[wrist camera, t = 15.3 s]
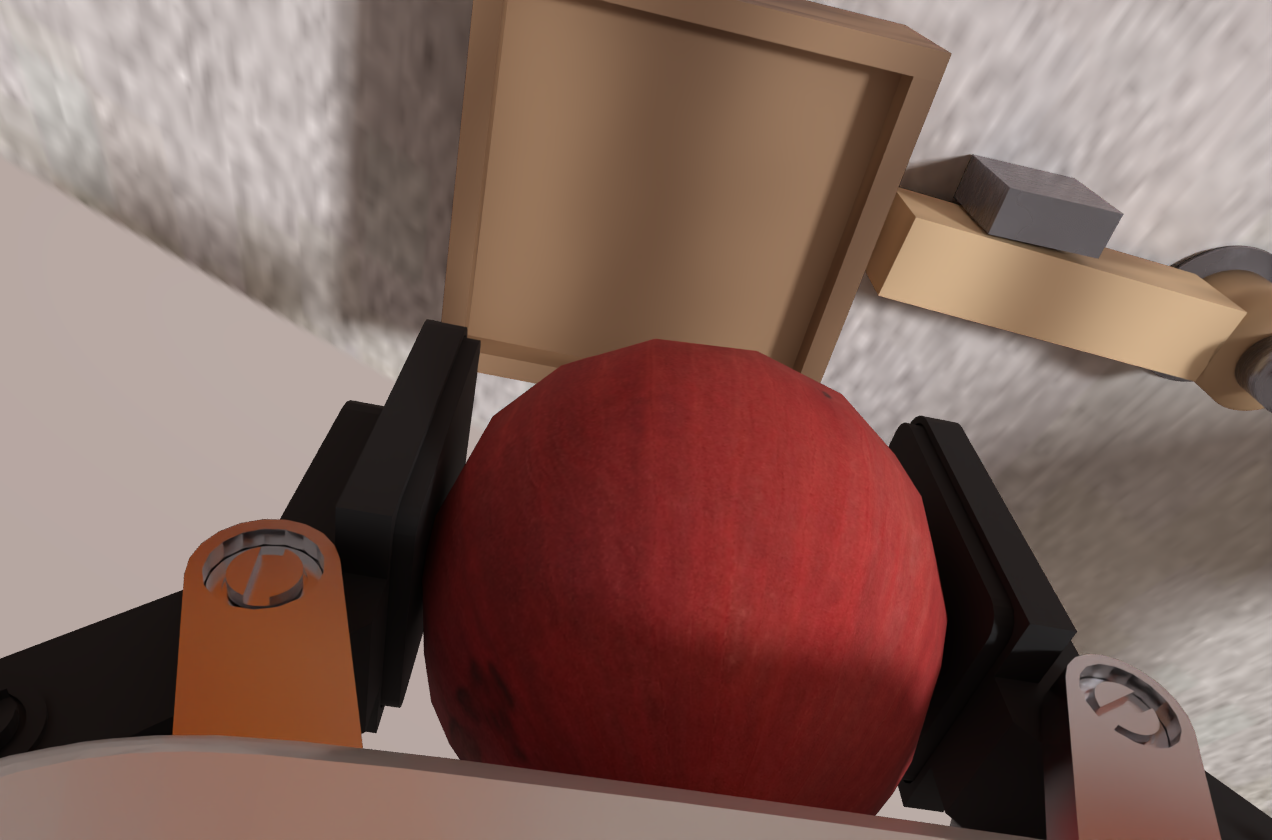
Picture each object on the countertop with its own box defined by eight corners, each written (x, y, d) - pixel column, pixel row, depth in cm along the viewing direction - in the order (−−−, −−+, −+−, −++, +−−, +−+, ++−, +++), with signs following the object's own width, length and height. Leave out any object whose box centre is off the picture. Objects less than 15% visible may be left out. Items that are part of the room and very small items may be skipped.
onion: (649, 605, 15) (653, 1185, 8) (402, 403, 13) (138, 990, 6) (930, 430, 13) (1236, 1025, 6) (696, 149, 11) (786, 627, 4)
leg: (1299, 285, 24) (1360, 325, 22) (1227, 377, 26) (1278, 421, 24) (899, 167, 22) (924, 198, 20) (851, 273, 24) (870, 312, 22)
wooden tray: (905, 25, 21) (951, 53, 18) (781, 365, 26) (799, 434, 23) (506, -75, 20) (479, -64, 17) (463, 301, 25) (436, 364, 22)
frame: (1340, 241, 24) (1456, 303, 20) (1232, 390, 26) (1318, 467, 23) (972, 154, 22) (1030, 205, 19) (899, 320, 25) (939, 391, 22)
